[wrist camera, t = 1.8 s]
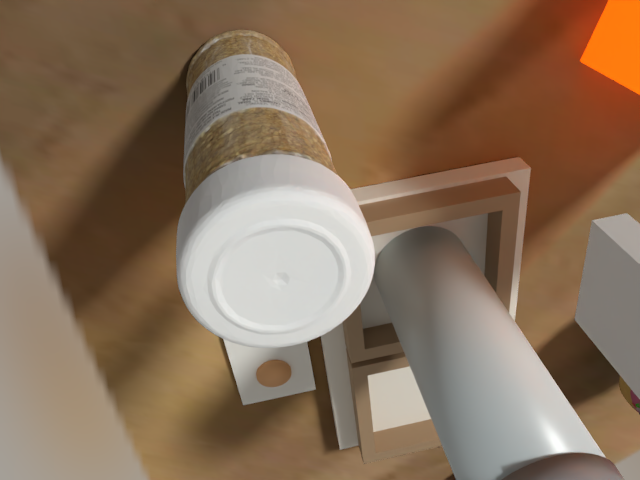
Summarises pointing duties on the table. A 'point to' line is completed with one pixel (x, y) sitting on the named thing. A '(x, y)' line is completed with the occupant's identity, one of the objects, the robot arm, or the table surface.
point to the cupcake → (629, 395)
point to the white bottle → (479, 368)
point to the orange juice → (617, 44)
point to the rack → (371, 314)
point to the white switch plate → (270, 371)
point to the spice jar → (263, 203)
